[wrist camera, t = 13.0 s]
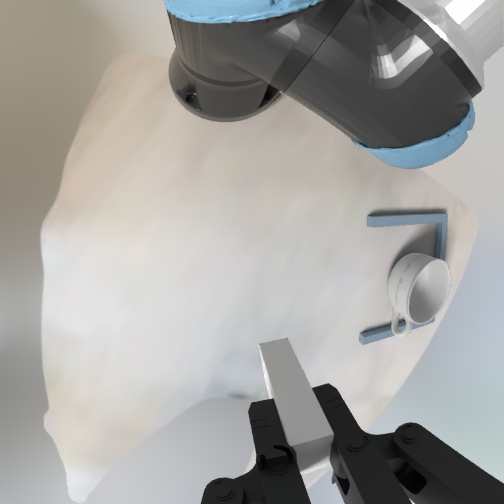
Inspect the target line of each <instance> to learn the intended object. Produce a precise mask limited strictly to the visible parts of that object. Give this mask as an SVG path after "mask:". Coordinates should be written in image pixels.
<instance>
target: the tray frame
mask: <svg viewBox="0 0 504 504" xmlns="http://www.w3.org/2000/svg"><path fill="white" fill-rule="evenodd" d="M447 221H448V214H445V213H426V214H399V215H377V216H367V226H369V227H384V226H398V225H412V224H427V223H437V235H436V249H435V258H438V259H442V260H444V261H445V251H446V239H447ZM434 321H435V317H434V318H433V319H432V320H430V321H429V322H427V323H425V324H415V323H413V327H412V330H413V329H416V328H418V327H421V326H424V325H427V324H429V323H432V322H434ZM405 327H406V321H403V322H399V323H398V329H399V331H400V332H401V331H403V330H404V329H405ZM391 336H394V334H393V332H392V328H391V325H389V326H386V327H382V328H379V329H375V330H371V331H367V332H363V333H360V336H359V341H360V342H361V343H362V344H363V345H364V344H368V343H371V342H375V341H378V340H381V339H385V338H388V337H391Z"/></svg>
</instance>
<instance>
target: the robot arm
mask: <svg viewBox="0 0 504 504" xmlns="http://www.w3.org/2000/svg"><path fill="white" fill-rule="evenodd" d="M164 1H165V6H166V9H167V12H168V16H169V20H170V24H171V28H172V32H173V36H174V40H175V44H176V48H175V51H174V53H173V55H172V57H171V60H170V64H169V80H170V84H171V87H172V90H173V92H174V94H175V96H176V98H177V99H178V101H179V102H180V103H181V104H182V105H183V106H184V107H185V108H186V109H187V110H188V111H190V112H191V113H193V114H195V115H197V116H199V117H201V118H204V119H207V120H211V121H218V122H234V121H240V120H244V119H247V118H250V117H252V116H255V115H256V114H258V113H260V112H262V111H263V110H264V109H266V108H267V107H268V106H269V105H270V104H271V103H272V102H273V100H274V99H275V98H276V96H277V95H278V93H279V92H280V91H282V92H283V93H284V94H286V95H288V96H289V97H291V98H293V99H294V100H296V101H298V102H299V103H301V104H302V105H304V106H305V107H307V108H309V109H310V110H312V111H313V112H315V113H316V114H318V115H319V116H321V117H322V118H323V119H325V120H326V121H328V122H329V123H331V124H332V125H333V126H335V127H336V128H338V129H339V130H340V131H342V132H343V133H344V134H346V135H347V136H348V137H350V138H351V140H352V141H353V142H354V143H355V144H356V145H357V146H359V147H361V148H363V149H366V150H368V151H369V152H371V153H372V154H373V155H375V156H376V157H377V158H379V159H380V160H381V161H383V162H384V163H386V164H388V165H390V166H396V167H399V168H404V169H415V168H422V167H425V166H429V165H432V164H434V163H436V162H439V161H441V160H443V159H445V158H446V157H448V156H449V155H451V154H452V153H454V152H455V151H456V150H457V149H458V148H459V147H460V146H461V145H462V144H463V143H464V142H465V141H466V139H467V138H468V135H467V131H469V130H471V129H472V127H473V125H474V121H475V112H474V108H473V103H472V100H471V99H472V98H473V97H474V96H476V95H477V94H478V93H479V92H481V91H482V90H483V89H484V72H483V66H484V62H485V61H486V60H487V59H489V58H490V57H491V56H492V55H493V54H494V53H496V52H497V51H498V50H499V49H500V48H501V47H503V46H504V0H164ZM259 347H260V353H261V359H262V365H263V371H264V377H265V382H266V386H267V389H268V393H269V396H270V399H267V400H263V401H258V402H252V403H251V405H250V408H249V411H248V413H249V418H250V424H251V428H252V434H253V439H254V444H255V450H256V454H257V455H256V464H255V466H254V467H253V469H252V470H250V471H249V472H248V473H246V474H244V475H242V476H240V477H237V478H235V479H231V478H218V479H215V480H213V481H211V482H210V483H209V484H207V486H206V488H205V490H204V494H203V497H202V501H201V504H311V502H310V499H309V496H308V493H307V491H306V488H305V485H304V482H303V479H302V476H301V475H302V474H306V473H310V472H313V471H317V470H320V469H323V468H327V467H329V465H330V463H331V465H332V467H333V476H332V484H333V483H335V482H336V484H337V486H338V488H339V491H340V493H341V496H342V498H343V500H344V503H345V504H412V503H411V501H410V500H409V498H410V499H411V500H412V501H413V502H414V503H415V504H504V484H503V483H502V482H500V481H499V480H497V479H496V478H494V477H493V476H491V475H490V474H488V473H487V472H485V471H484V470H483V469H481V468H479V467H478V466H477V465H475V464H474V463H472V462H471V461H470V460H468V459H467V458H465V457H464V456H462V455H461V454H459V453H458V452H457V451H455V450H454V449H452V448H451V447H450V446H448V445H447V444H446V443H444V442H443V441H441V440H440V439H439V438H437V437H436V436H435V435H433V434H432V433H431V432H429V431H428V430H426V429H425V428H424V427H422V426H421V425H419V424H417V423H411V422H410V423H405V424H403V425H401V426H399V427H398V428H397V429H396V431H395V432H393V433H388V434H381V435H373V434H369V433H366V432H364V431H363V430H362V429H361V428H360V427H359V425H358V424H357V422H356V420H355V419H354V417H353V415H352V413H351V412H350V410H349V408H348V407H347V405H346V404H345V402H344V400H343V398H342V397H341V395H340V393H339V392H338V390H337V389H336V388H335V387H333V386H332V385H330V384H329V383H328V384H324V385H321V386H317V387H314V388H311V386H310V384H309V382H308V380H307V378H306V375H305V373H304V371H303V369H302V367H301V365H300V363H299V361H298V359H297V357H296V355H295V353H294V351H293V349H292V346H291V344H290V342H289V340H288V338H285V339H280V340H276V341H271V342H266V343H261V344H259Z"/></svg>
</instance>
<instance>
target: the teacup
mask: <svg viewBox="0 0 504 504" xmlns="http://www.w3.org/2000/svg"><path fill="white" fill-rule="evenodd" d="M450 285H451V273H450V269H449V266H448V264H447V263H446V262H445V261H444V260H442V259H438V258H434V257H432V256H429V255H425V254H422V253H410V254H407V255H405V256H404V257H402V258H401V259H400V260H399V261H398V262H397V263H396V264H395V266H394V267H393V269H392V271H391V273H390V276H389V279H388V284H387V295H388V299H389V301H390V303H391V305H392V306H393V309H392V311H393V316H392V323H391V328H392V332H393V334H394V335H395V336H397V337H400V338H404V337H406V336H408V335H409V334H410V332H411V330H412V327H413V323H415V324H425V323H427V322H429V321H430V320H432V319H433V318H434V317H435V316H436V315H437V314H438V313H439V311H440V310H441V309H442V307H443V305H444V304H445V302H446V299H447V297H448V294H449V290H450ZM400 313H401V314H402V315H403V316H404V319H405V321H406V327H405V329H404V330H403V331H401V332H400V331H399V329H398V320H399V316H400Z"/></svg>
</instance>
